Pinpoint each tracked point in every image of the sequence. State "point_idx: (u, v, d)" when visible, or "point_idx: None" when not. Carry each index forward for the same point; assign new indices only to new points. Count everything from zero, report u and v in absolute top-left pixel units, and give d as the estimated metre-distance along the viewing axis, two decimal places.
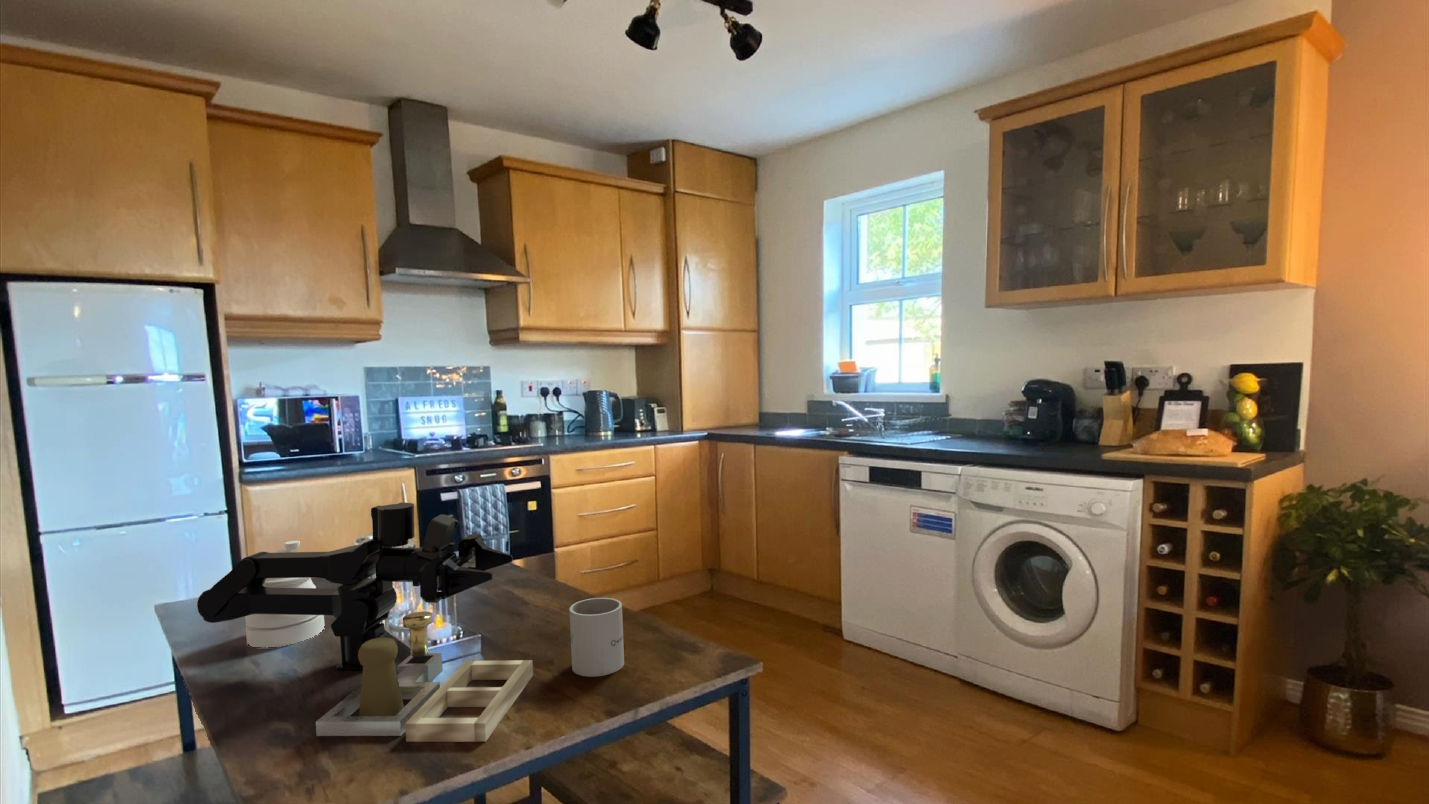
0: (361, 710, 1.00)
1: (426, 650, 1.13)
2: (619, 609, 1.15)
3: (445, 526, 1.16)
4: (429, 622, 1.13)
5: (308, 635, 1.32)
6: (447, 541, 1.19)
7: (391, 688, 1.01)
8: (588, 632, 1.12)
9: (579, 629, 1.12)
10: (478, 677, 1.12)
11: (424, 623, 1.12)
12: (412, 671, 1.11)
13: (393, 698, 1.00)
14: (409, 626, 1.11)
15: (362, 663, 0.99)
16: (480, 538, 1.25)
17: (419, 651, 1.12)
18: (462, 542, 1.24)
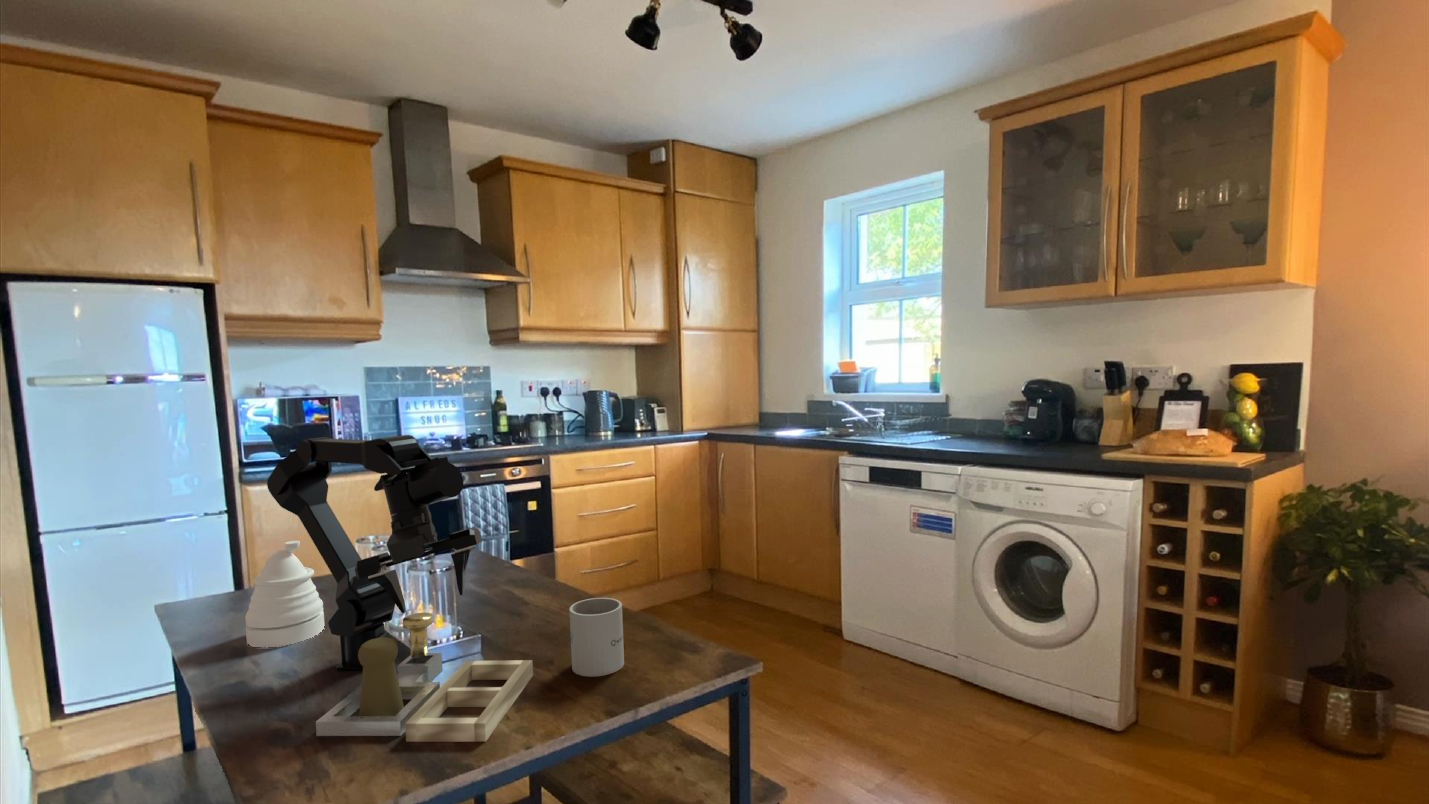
0: (361, 710, 1.00)
1: (426, 651, 1.13)
2: (619, 609, 1.15)
3: (393, 560, 1.06)
4: (429, 624, 1.13)
5: (308, 635, 1.32)
6: None
7: (391, 688, 1.01)
8: (588, 632, 1.12)
9: (579, 629, 1.12)
10: (478, 677, 1.12)
11: (424, 624, 1.12)
12: (412, 671, 1.11)
13: (393, 698, 1.00)
14: (409, 627, 1.11)
15: (362, 663, 0.99)
16: (462, 553, 1.12)
17: (419, 652, 1.12)
18: None
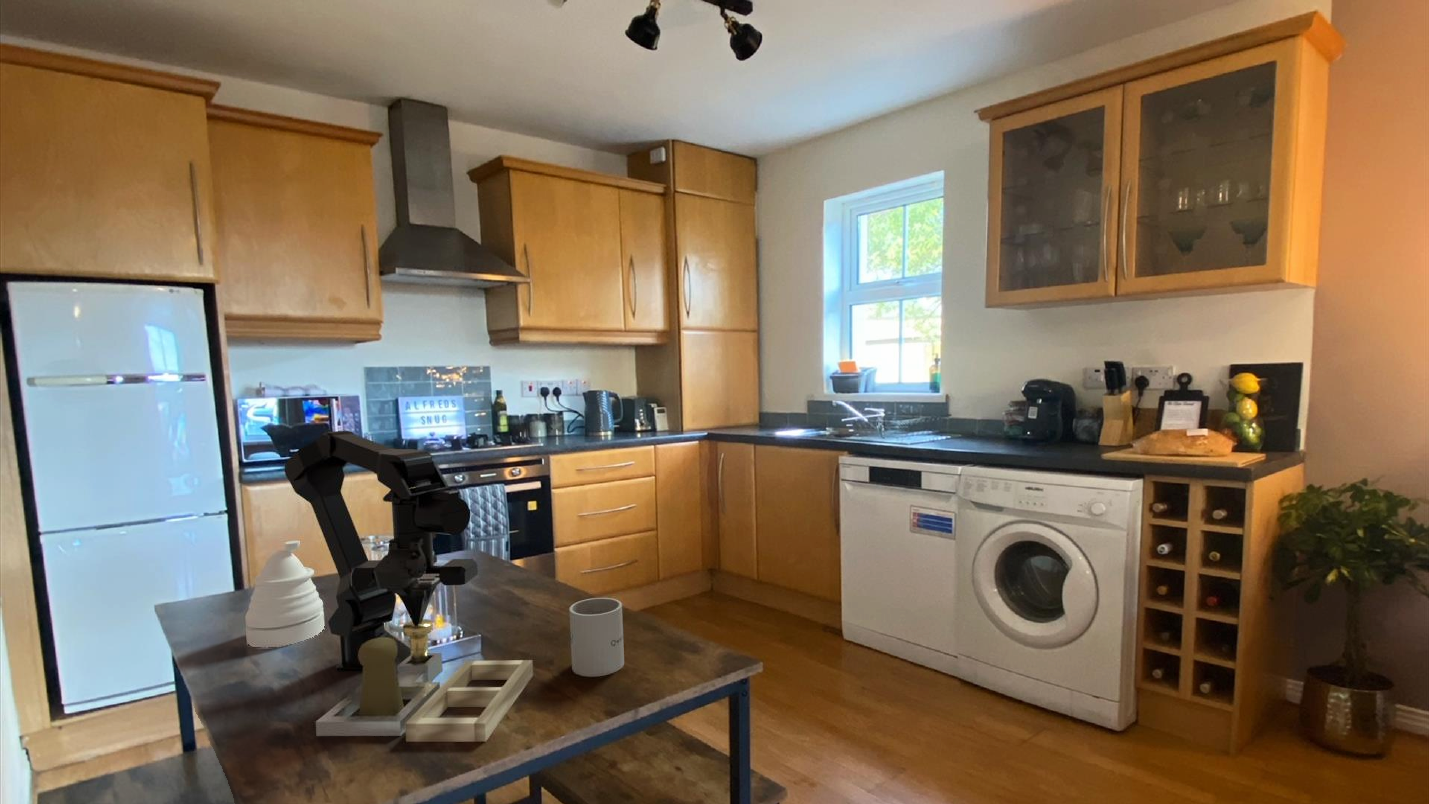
0: (361, 710, 1.00)
1: (426, 658, 1.13)
2: (619, 609, 1.15)
3: (378, 586, 1.06)
4: (430, 631, 1.13)
5: (308, 635, 1.32)
6: None
7: (391, 688, 1.01)
8: (588, 632, 1.12)
9: (579, 629, 1.12)
10: (478, 677, 1.12)
11: (424, 631, 1.12)
12: (412, 671, 1.11)
13: (393, 698, 1.00)
14: (409, 634, 1.11)
15: (362, 663, 0.99)
16: (422, 589, 1.10)
17: (419, 659, 1.12)
18: None
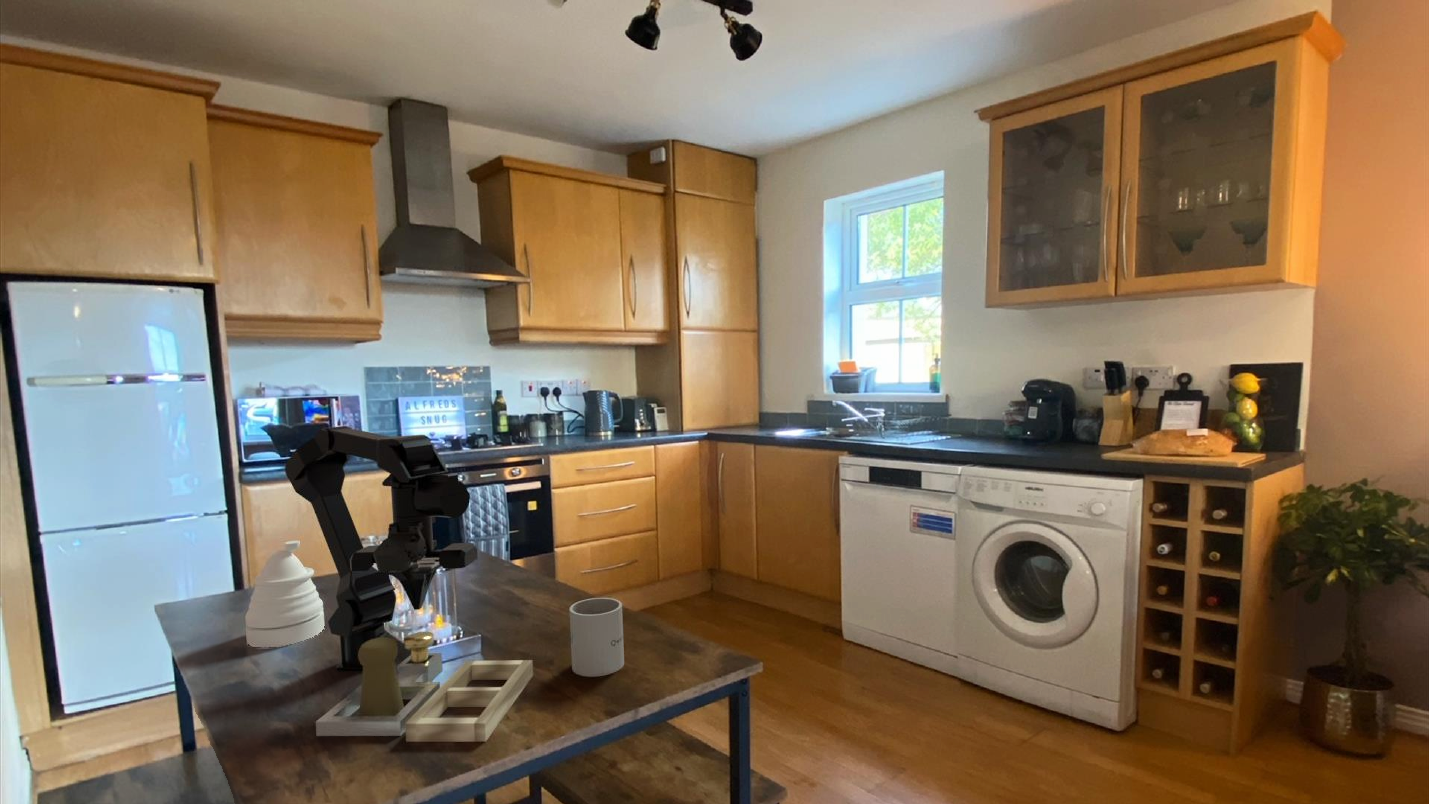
0: (361, 710, 1.00)
1: None
2: (619, 609, 1.15)
3: None
4: (430, 643, 1.13)
5: (308, 635, 1.32)
6: None
7: (391, 688, 1.01)
8: (588, 632, 1.12)
9: (579, 629, 1.12)
10: (478, 677, 1.12)
11: (425, 644, 1.12)
12: (412, 671, 1.11)
13: (393, 698, 1.00)
14: (410, 647, 1.11)
15: (362, 663, 0.99)
16: (422, 573, 1.10)
17: None
18: None
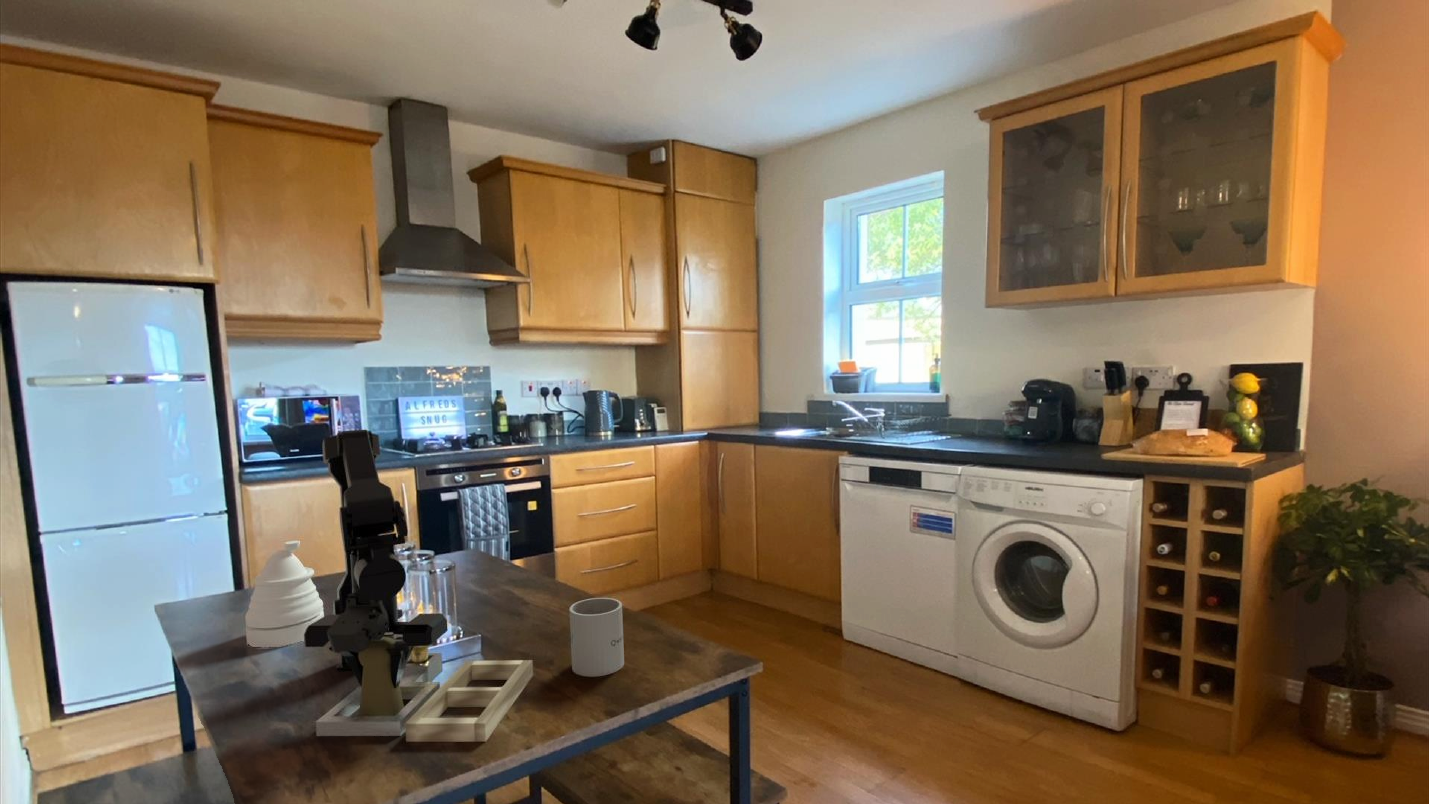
0: (361, 710, 1.00)
1: None
2: (619, 609, 1.15)
3: (332, 649, 0.94)
4: None
5: None
6: None
7: (391, 688, 1.01)
8: (588, 632, 1.12)
9: (579, 629, 1.12)
10: (478, 677, 1.12)
11: None
12: (412, 671, 1.11)
13: (393, 698, 1.00)
14: None
15: (362, 663, 0.99)
16: (399, 650, 0.98)
17: None
18: None
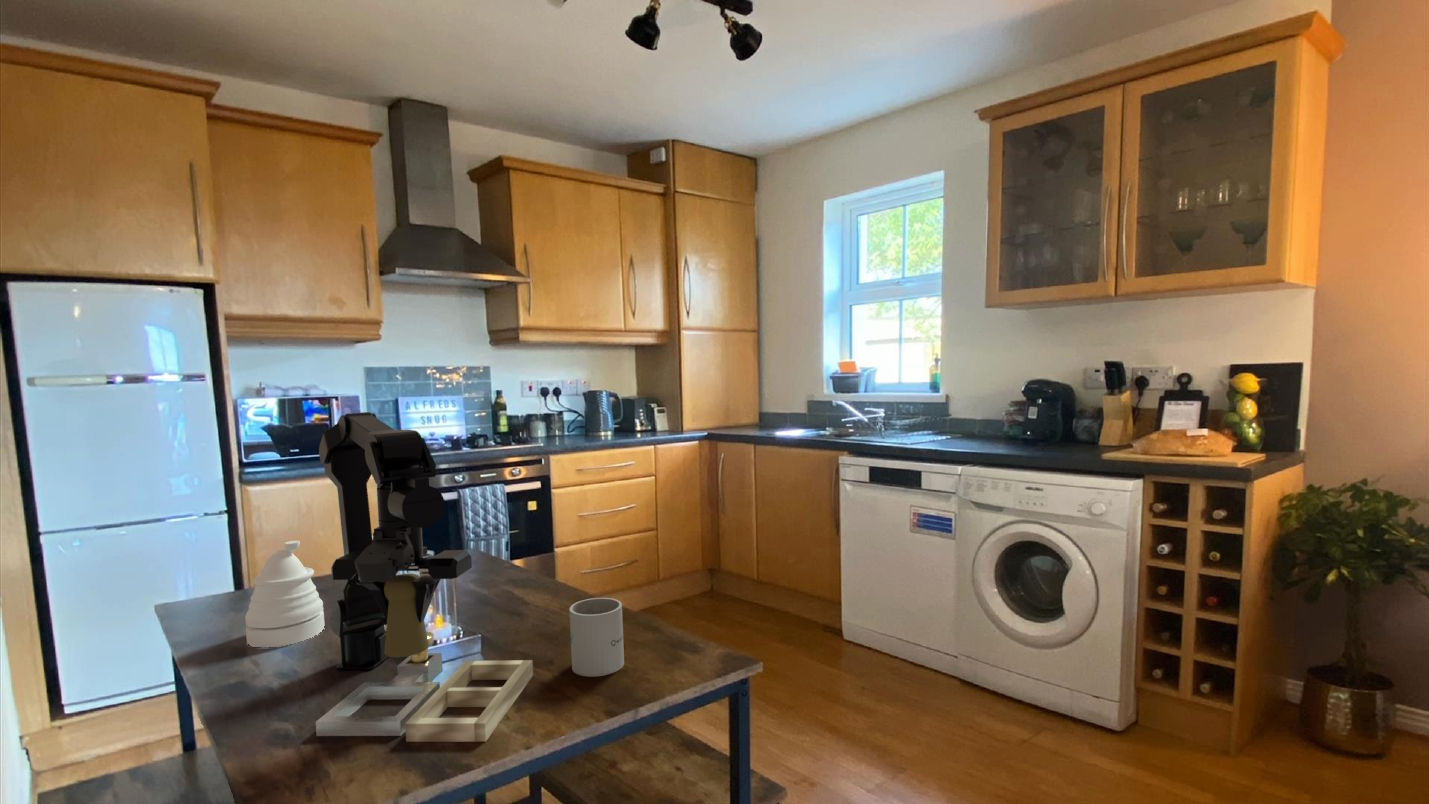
0: (387, 643, 1.01)
1: None
2: (619, 609, 1.15)
3: (359, 579, 0.95)
4: (430, 643, 1.13)
5: (308, 635, 1.32)
6: None
7: (416, 622, 1.02)
8: (588, 632, 1.12)
9: (579, 629, 1.12)
10: (478, 677, 1.12)
11: None
12: (412, 671, 1.11)
13: (418, 632, 1.02)
14: None
15: (388, 596, 1.00)
16: (424, 583, 0.99)
17: None
18: None
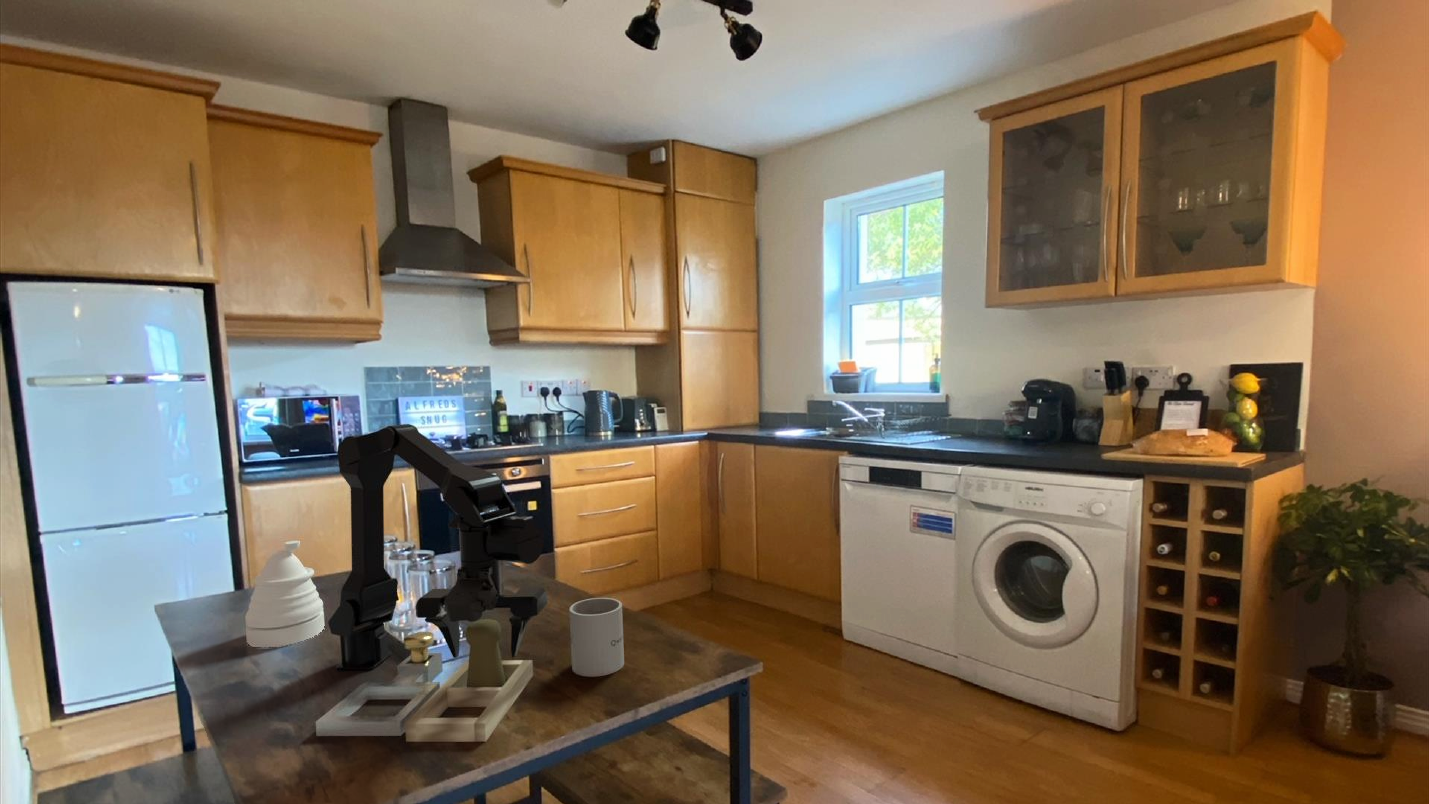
0: None
1: None
2: (619, 609, 1.15)
3: (448, 618, 1.00)
4: (430, 643, 1.13)
5: (308, 635, 1.32)
6: None
7: (496, 666, 1.07)
8: (588, 632, 1.12)
9: (579, 629, 1.12)
10: None
11: (425, 644, 1.12)
12: (412, 671, 1.11)
13: (498, 676, 1.07)
14: (410, 647, 1.11)
15: (470, 643, 1.05)
16: (521, 620, 1.04)
17: None
18: (511, 602, 1.05)
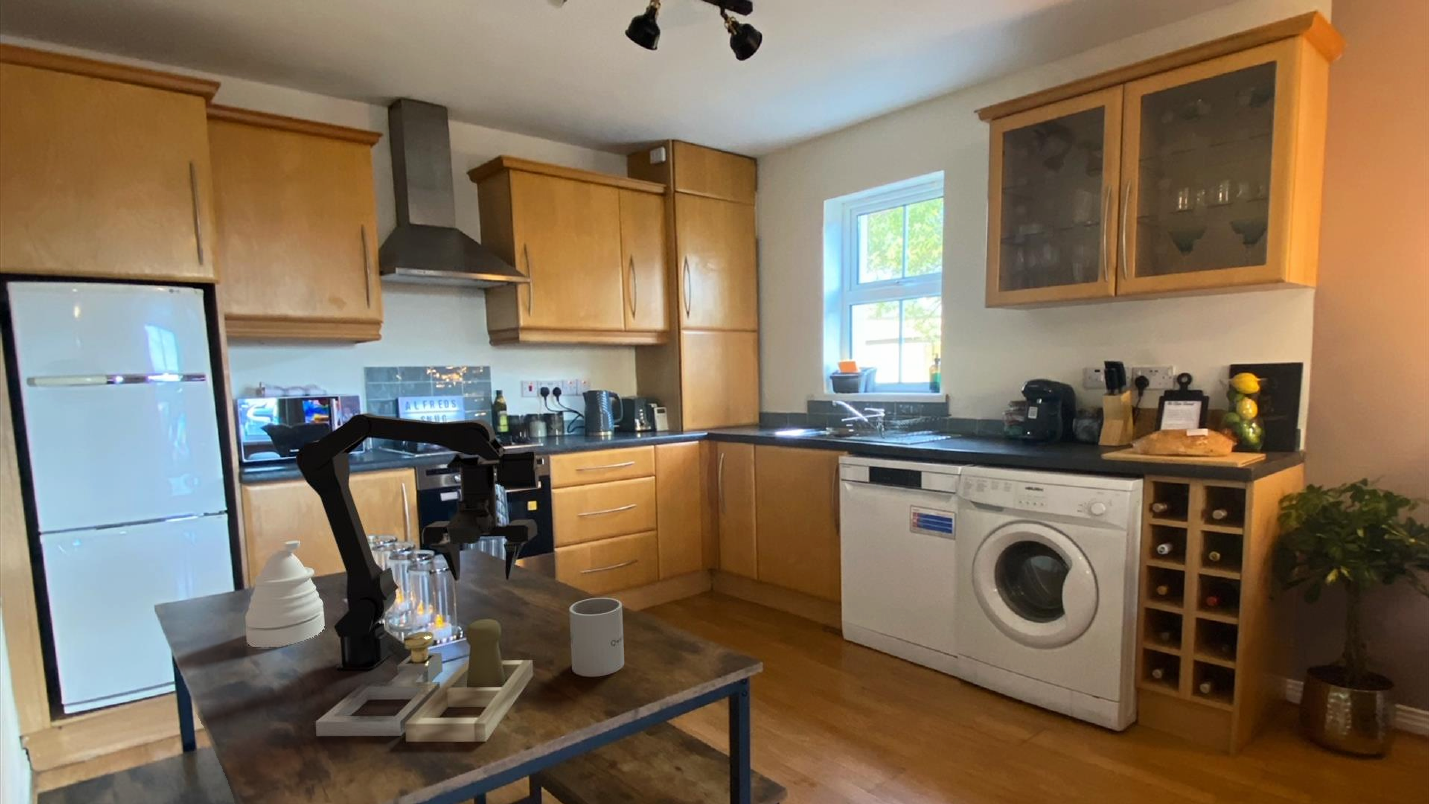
0: None
1: None
2: (619, 609, 1.15)
3: (450, 541, 1.15)
4: (430, 643, 1.13)
5: (308, 635, 1.32)
6: None
7: (496, 666, 1.07)
8: (588, 632, 1.12)
9: (579, 629, 1.12)
10: None
11: (425, 644, 1.12)
12: (412, 671, 1.11)
13: (498, 676, 1.07)
14: (410, 647, 1.11)
15: (470, 643, 1.05)
16: (514, 546, 1.19)
17: None
18: None
